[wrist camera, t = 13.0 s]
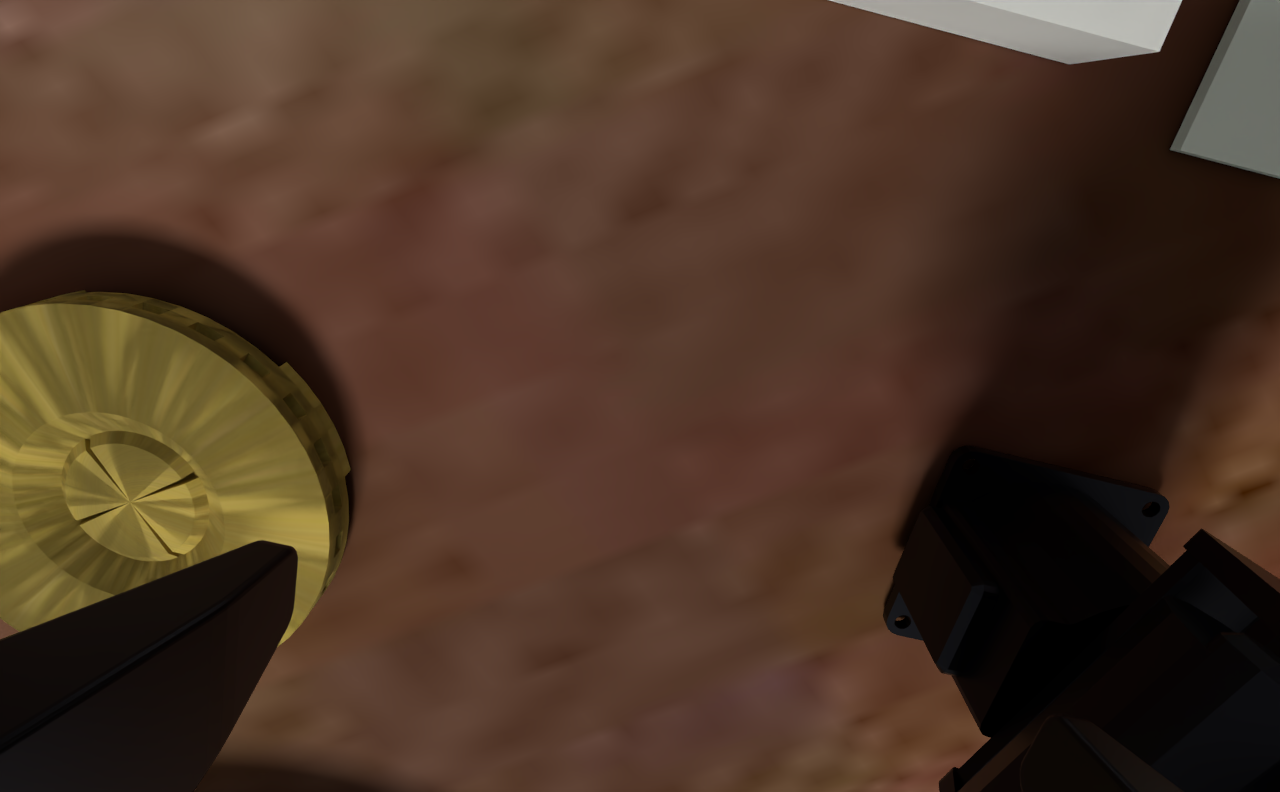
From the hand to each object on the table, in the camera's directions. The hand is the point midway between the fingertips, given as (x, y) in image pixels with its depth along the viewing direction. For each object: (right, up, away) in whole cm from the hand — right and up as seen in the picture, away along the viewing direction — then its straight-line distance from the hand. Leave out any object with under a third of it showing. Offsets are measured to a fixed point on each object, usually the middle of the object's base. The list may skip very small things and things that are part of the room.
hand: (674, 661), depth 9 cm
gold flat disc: (-15, +1, +15) cm, 21 cm away
